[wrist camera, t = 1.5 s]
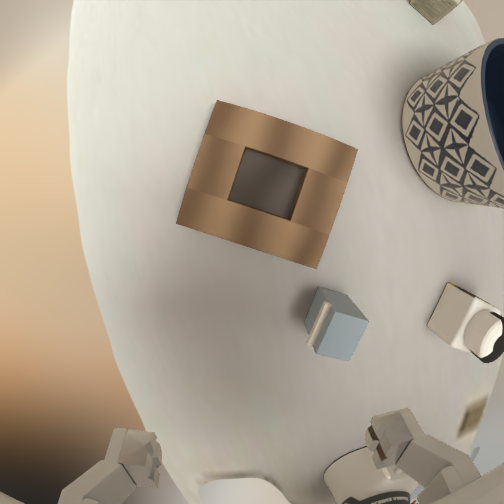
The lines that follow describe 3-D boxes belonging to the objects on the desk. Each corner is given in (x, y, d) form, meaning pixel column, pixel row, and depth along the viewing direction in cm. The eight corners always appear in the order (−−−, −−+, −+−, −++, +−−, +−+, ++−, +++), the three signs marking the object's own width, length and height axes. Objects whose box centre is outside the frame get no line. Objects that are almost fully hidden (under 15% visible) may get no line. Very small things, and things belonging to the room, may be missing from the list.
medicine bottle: (474, 295, 37) (523, 323, 25) (454, 335, 39) (497, 372, 27) (447, 281, 37) (499, 310, 25) (425, 325, 38) (470, 365, 26)
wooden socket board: (349, 152, 33) (357, 149, 30) (311, 262, 36) (316, 269, 33) (219, 107, 32) (217, 100, 29) (182, 220, 35) (176, 223, 32)
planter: (506, 174, 33) (583, 178, 17) (432, 223, 35) (519, 247, 19) (461, 65, 30) (532, 33, 14) (375, 95, 32) (447, 47, 16)
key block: (347, 295, 37) (368, 321, 29) (332, 329, 38) (348, 361, 30) (313, 284, 37) (329, 309, 29) (299, 320, 38) (309, 352, 30)
